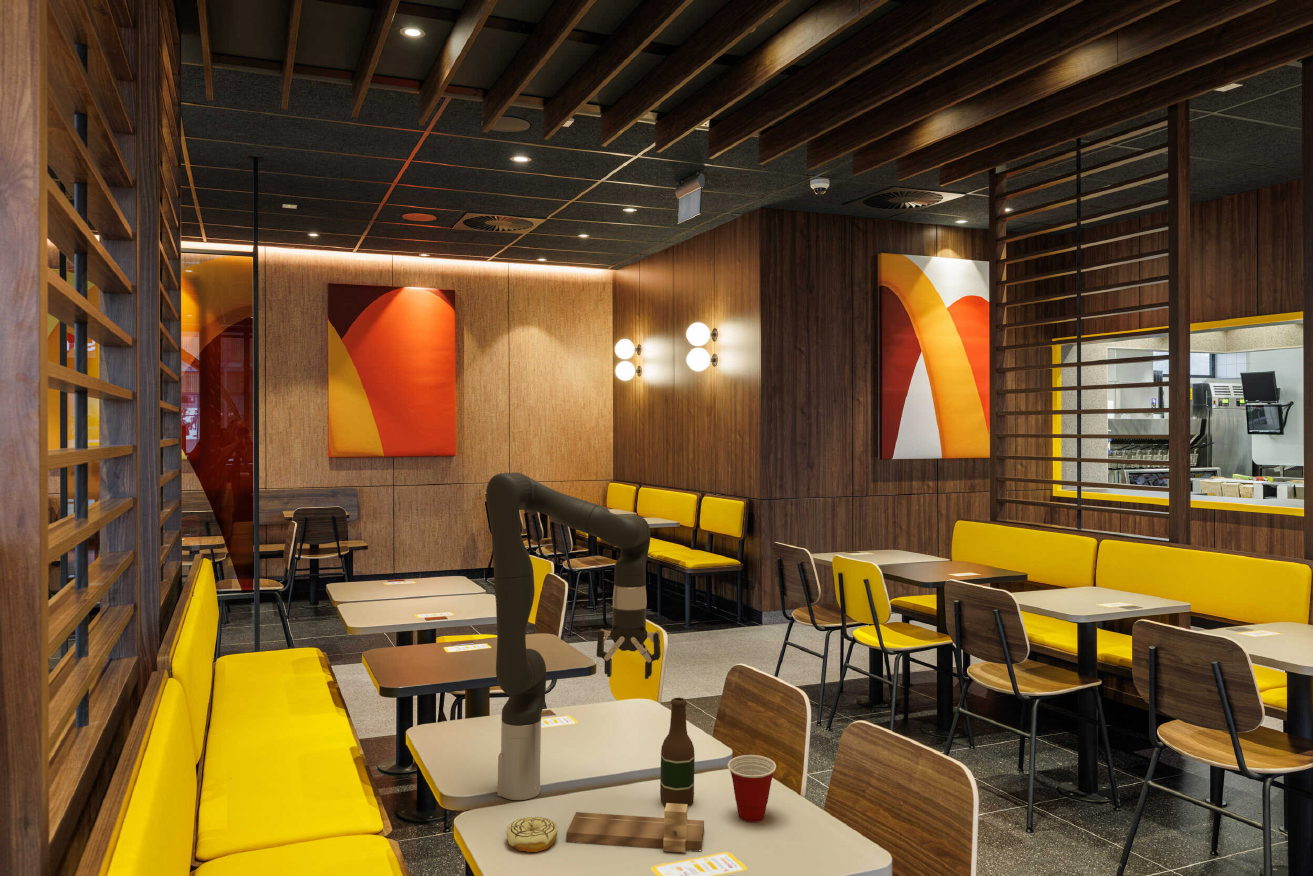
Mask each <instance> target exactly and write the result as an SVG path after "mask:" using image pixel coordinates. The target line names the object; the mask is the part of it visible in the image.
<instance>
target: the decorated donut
mask: <svg viewBox="0 0 1313 876" xmlns="http://www.w3.org/2000/svg"><path fill="white" fill-rule="evenodd" d="M505 834H506V838H507V842H508V844H509V845H510V846H511V847H513V848H514V849H515V850H517V849H518V850H521V851H520V852H522V851H526V852H525V853H529V852H536V853H538V852H537V851H539V852H542V851H546V850H547V849H549V848H551V846H552V845H553V844H554V843H555V841H556V840H557V837H558V825H557V823H555V822H554V821H553V820H551V819H550V818H546V817H542V816H540V817H539V816H534V817H532V816H529V817H523V818H519V819H516V820H514V821H513V822H511V823H510V824H509V825H507V827H506V831H505ZM518 850H517V851H518Z"/></svg>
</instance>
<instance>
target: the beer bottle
mask: <svg viewBox="0 0 1313 876" xmlns="http://www.w3.org/2000/svg"><path fill="white" fill-rule="evenodd" d="M687 704H688V702H687V700H686V699H685V698H684V697H674V698H672V699H671V700H670V705H671V711H670V722H669V723H670V725H669V731H668V734H667V736H666V737H665V738H664V740H663V743H662V745H661V749H660V784H659V785H660V786H659V787H660V788H659V795H660V802H661V803H662V806H664V808H665V807H666V803H675V804H688V808H689V807H691V806H692V805H693V804H694V800H695V799H694V797H695V763H696V762H695V746H694V744H693V741H692V740H691V738H690V736H689V735H688V729H687V709H686V707H687V706H686V705H687Z"/></svg>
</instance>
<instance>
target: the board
mask: <svg viewBox="0 0 1313 876" xmlns="http://www.w3.org/2000/svg"><path fill="white" fill-rule="evenodd" d="M704 831H705V820H703V819H700V820H699V819H689V818H687V836H686V843H685V851H688V850H701V851H702V848H703V841H702V840H704V834H705V833H704ZM663 840H664V817H655V816H642V815H641V816H640V815H638V816H637V815H628V814H627V815H624V814H612V813H611V814H610V813H597V812H595V813H594V812H580V811H579V812H578V811H576V812H575V813H574V815H573V818H572V820H571V822H570V824H569V826H568V828H567V830H566V835H565V842H566V841H567V842H566V843H574V842H581V843H580V844H589V843H593V844H592V845H603V844H605V845H607V846H621V847H633V848H648V849H663Z"/></svg>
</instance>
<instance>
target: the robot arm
mask: <svg viewBox="0 0 1313 876" xmlns="http://www.w3.org/2000/svg"><path fill="white" fill-rule="evenodd" d="M485 502H486V508H487V512H488V518H489V519H488V520H489V524H490V532H491V542H492V543H491V545H492V547H491V548H492V558H493V579H494V580H493V581H494V583H493V584H494V596H495V611H496V612H495V615H496V631H497V632H496V633H497V634H496V635H497V636H496V654H495V655H496V658H495V674H496V675H495V676H496V680H497V684H498V685H499V688H500V689H501V691H503V693H505V694H506V695H508V696H509V697H508V699H507V701H506V703H504V705H503V707H502V709H501V722H500V723H501V731H500V732H501V735H500V739H501V740H500V753H498V757H497V758H498V759H497V797H502V798H504V799H506V800H513V801H524V800H529V799H533V798H535V797H537V796H538V795H539V794H540V793H541V753H542V752H541V751H542V750H541V744H542V743H541V742H542V735H541V734H542V712H543V709H544V706H545V700H546V690H547V689H546V686H547V666H546V662H545V660H544V658H543V656H542V654H541V653H540V652H539V651H537V650H536V649H533V648H527V641H526V639H527V636H526V635H527V626H528V623H529V619H530V617H531V612H532V609H533V606H534V605H533V604H534V602H535V601H534V600H535V575H534V573H535V572H534V566H533V562H532V558H531V557H530V554H529V552H528V550H527V547H526V545H525V543H524V541H523V538H522V534H521V529H520V528H521V527H520V525H521V524H520V511H528V512H536V513H540V514H543V515H546V516H548V517H551V518H552V519H554V520H556V521H558V522H559V523H561V524H563V525H564V526H566V527H568V528H570V529H573V530H575V531H578V532H581V533H583V534H586V535H590V536H593V537H596V538H598V539H600V540H601V541H604V543H607V544H609V545H611V546H614V547H616V548H619V549H620V556H619V558H618V559H617V561H616V562H615V564H614V576H613V577H614V579H613V580H614V581H613V582H614V584H613V594H612V628H611V630H606V629H605V628H600V630H598V633H597V641H596V642H597V643H596V657H597V658H601V659H603V660H604V671H603V672H604V674H605V675H606V677H607V678H611V677H612V673H613V672H612V671H613V670H612V669H613V658H612V657H613V655H614V654H615V653H616V652H617V651H618V650H620V651H621V652H626V651H629V652H636V651H638V652H639V654H640V655H641V656H642V657H643V658H644V660H645V662H644V679H645V680H649V678H650V677H651V676H652V674H653V662H654V661H659V660H660V658H661V654H662V653H661V651H662V650H661V634H660V631H658V630H655V631H654V632H652V631H650V632H648V631H647V627H646V626H647V603H648V602H647V601H648V600H647V589H646V573H647V571H646V565H647V560H648V555H649V549H650V547H651V546H650V545H651V528H650V525H649V523H648V521H647V520H646V518H644V517H643V516H640V515H629V516H623V515H619V514H617V513H613V512H611V511H610V510H609V509H608V508H607V507H604V506H602V505H599V504H597V503H594V502H591V501H587V500H585V499H581V498H577V497H575V496H571V495H568V494H565V493H563V492H560V491H557V490H555V489H553V488H550V487H548V486H546V485H544V484H542V483H541V482H539V481H537V480H536V479H533V478H531V477H529V476H528V475H525V474H523V473H521V472H501V473H497V474H494V475H493V476H492V477H491V478H490V479H489V481H488V483H487V485H486V489H485ZM609 637H610V638H611V640H612V641H613V643H614V644H613V645H612V646H611V648H610V649H609V650H608V651H605V641H607V639H608V638H609ZM647 639H649V641H650V642H651V643H653V653H651V652H650V651H649V648H648V647H647V645H646V644H645V642H646V640H647Z"/></svg>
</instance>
